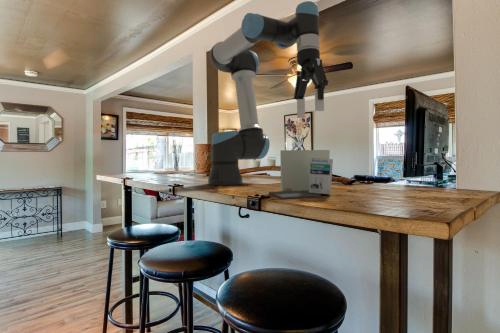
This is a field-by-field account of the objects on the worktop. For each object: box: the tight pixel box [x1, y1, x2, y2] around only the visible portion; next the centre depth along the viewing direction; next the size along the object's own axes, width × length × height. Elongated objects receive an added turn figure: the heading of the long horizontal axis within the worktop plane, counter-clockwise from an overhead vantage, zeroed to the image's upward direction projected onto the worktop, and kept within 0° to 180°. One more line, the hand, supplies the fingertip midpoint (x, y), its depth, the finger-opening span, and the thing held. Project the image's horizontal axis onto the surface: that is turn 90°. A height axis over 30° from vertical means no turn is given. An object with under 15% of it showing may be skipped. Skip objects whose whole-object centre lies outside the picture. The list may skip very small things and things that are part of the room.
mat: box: [268, 190, 322, 200], centre depth 89 cm, size 12×12×1 cm
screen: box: [279, 149, 331, 191], centre depth 101 cm, size 4×18×14 cm, turn 104°
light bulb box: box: [308, 158, 334, 195], centre depth 92 cm, size 11×7×11 cm, turn 169°
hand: (309, 114), depth 98 cm, fingers open, 13 cm apart
